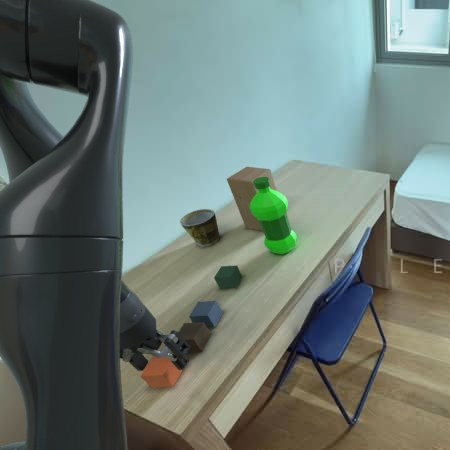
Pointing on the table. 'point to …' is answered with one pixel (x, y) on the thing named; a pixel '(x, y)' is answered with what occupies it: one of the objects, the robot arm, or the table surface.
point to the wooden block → (248, 192)
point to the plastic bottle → (272, 217)
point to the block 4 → (228, 277)
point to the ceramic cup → (201, 226)
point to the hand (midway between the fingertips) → (163, 366)
